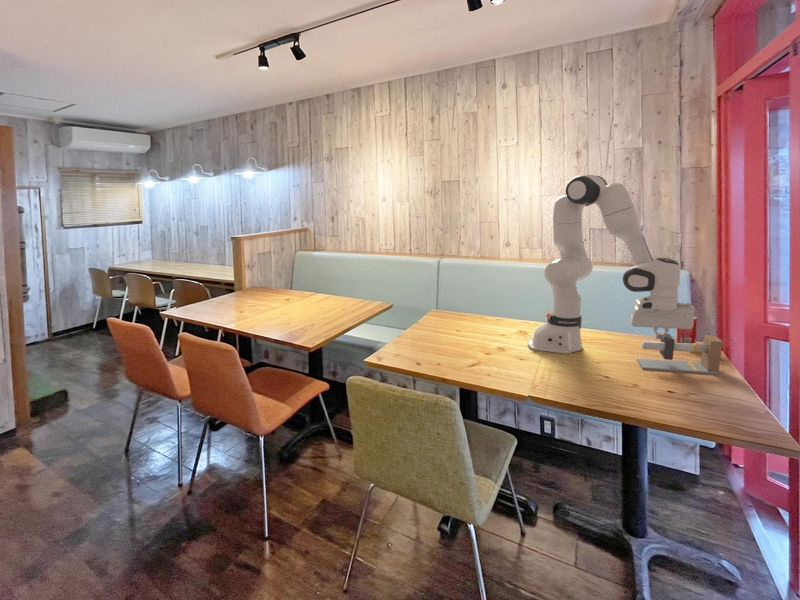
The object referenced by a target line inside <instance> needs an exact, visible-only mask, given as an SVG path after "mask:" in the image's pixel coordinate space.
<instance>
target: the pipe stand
mask: <svg viewBox="0 0 800 600" xmlns="http://www.w3.org/2000/svg"><path fill="white" fill-rule="evenodd" d="M723 343H724V341H723V340H721V339H720V338H719V337H717V336H716V335H712V334H711V335H710V334H709V335H708V334H707V335H706V334H704V335H703V343H697V342H696V343H693V344H689V343H674V351H673V352H689V353H690V352H691V353H701V358H700V359H701V360H700V362H696V361H689V360H688V361H685V360H684V361H681V360H667V359H649V358H637V359H636V361H637V363H638V364H639V366H640V368H641V369H642V370H646V371H647V370H648V371H649V370H651V371H662V372H677V373H691V374H693V373H694V374H704V375H705V374H706V375H719V376H720V375H721V371H720V364H721V356H722V349H723ZM641 347H642V349H643V350H655V351H660V350H664V349H665V342H661V341H652V340H651V341H649V340H643V341H642V343H641Z"/></svg>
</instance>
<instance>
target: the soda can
mask: <svg viewBox="0 0 800 600" xmlns="http://www.w3.org/2000/svg"><path fill="white" fill-rule="evenodd" d="M693 317H694V326H693V327H692V328H691V329H678V328H676V332H675V343H689V344H693V343H696V344H697V342H696V341H697V333H698V332H697V331H698V325H699V321H698V317H697V316H695V315H693Z"/></svg>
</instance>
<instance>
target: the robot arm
mask: <svg viewBox="0 0 800 600" xmlns="http://www.w3.org/2000/svg"><path fill="white" fill-rule="evenodd" d="M593 204H595V205H597V206H598V208H599V210H600V213H601V216H602V220H603V222H604V226H605V227H606V230H607V231H608V233H609V234H610V235H611V236H614V237H616V238H618V239H620V240H621V241H623V242H624V243H625V245H626V246H627V249H628V252H629V254H630V257H631V259H632V262H633V266H632V267H630V268H629V269H627V270H626V271H625V272H624V273H623V276H622V283H623V285H624V287H625V288H626V289H627V290H629V291H630V292H634V293H642V292H649V296H645V297H641V298H637V299H635V306H634V307H633V308H632V310H631V314H630V319H629V320H630V324H631V326H632V327H635V328H652V331H653V332H654V339H656V340H661V339H665V335H666V334H668V333H669V331H670V329H677V328H678V329H691V328H692V327H693V326H694V317H693V316H695V313H696V307H695V305H693V304H691V303H690V302H689V303H684V302H679V303H678V300H679V292H678V288H679V286H680V282H681V281H680V280H681V266H680V263H679V262H678V261H677V260H675V259H673V258H667V257H657V258H655V259H654V258H653V257H652V255H651V252H650V250H649V247H648V245H647V243H646V239H645V237H644V235H643V232H642V229H641V226H640V223H639V219H638V216H637V212H636V209H635V205H634V204H633V201H632V198H631V196H630V194H629V192H628V190H627V188H626V186H625V185H623V184H622V183H618V182H613V183H609V184H608V183H607V181H606V179H605V178H603V177H601V176H600V175H594V174H585V175H578V176H575V177H573V178H572V179H570V180H569V182H568V183H567V185H566V187H565V195H562V196H560V197H558V198H557V199H556V200H555V201H554V207H553V212H552V213H553V214H552V216H553V217H552V228H553V232H552V233H553V244H554V245H555V247H557V249H558V251H559V256H560V258H557V259H555V260H553V261H551V262H550V263H549V264H548V265H546V267H545V269H544V277H545V279H546V281H547V282H548V283H549V285H550V286H551V292H552V297H553V298H552V299H553V300H552V301H553V302H552V305H553V307H552V313H551V312H547V313H546V318H547V322H545V323H544V324H543V325H541V326H539V327H538V328H536V329H535V331H534V334H533V337H531V338H529V340H528V342H527V346H528V348H530V350H534V351H540V352H547V353H548V352H550V353H556V354H557V353H558V354H566V355H568V354H571V353H573V352H574V353H575V352H579V351H581V350H583V347H584V346H583V343H582V335H581V329H582V324H583V317H582V315H581V314H582V313H581V312H582V297H581V294H579V292H578V287H577V283H578V282H579V281H580V282H581V281H582V280H585V279H586V278H587V277H589V275H591V274H592V272H593V267H594V265H593V263H592V260H591V259H590V258H589V257H588V255H587V252H586V248H585V245H584V244H585V243H584V238H583V237H584V236H583V216H582V215H583V210H584V208H585V207H588V206H590V205H591V206H592V205H593ZM659 328H661V329H663V331H662V332H661V333H660V332H659V333H658V330H659Z"/></svg>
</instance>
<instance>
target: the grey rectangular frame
mask: <svg viewBox="0 0 800 600" xmlns="http://www.w3.org/2000/svg"><path fill="white" fill-rule="evenodd" d="M675 341H676V339H674V337H673V336H672V335H671V334H670V333H667V334H666V335H665V339H660V342H665V349H664V350H659V354H660V355H661V356H662V358H663V360H668V361H674V360H673V359H674V352H675V351H674V343H675Z"/></svg>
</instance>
